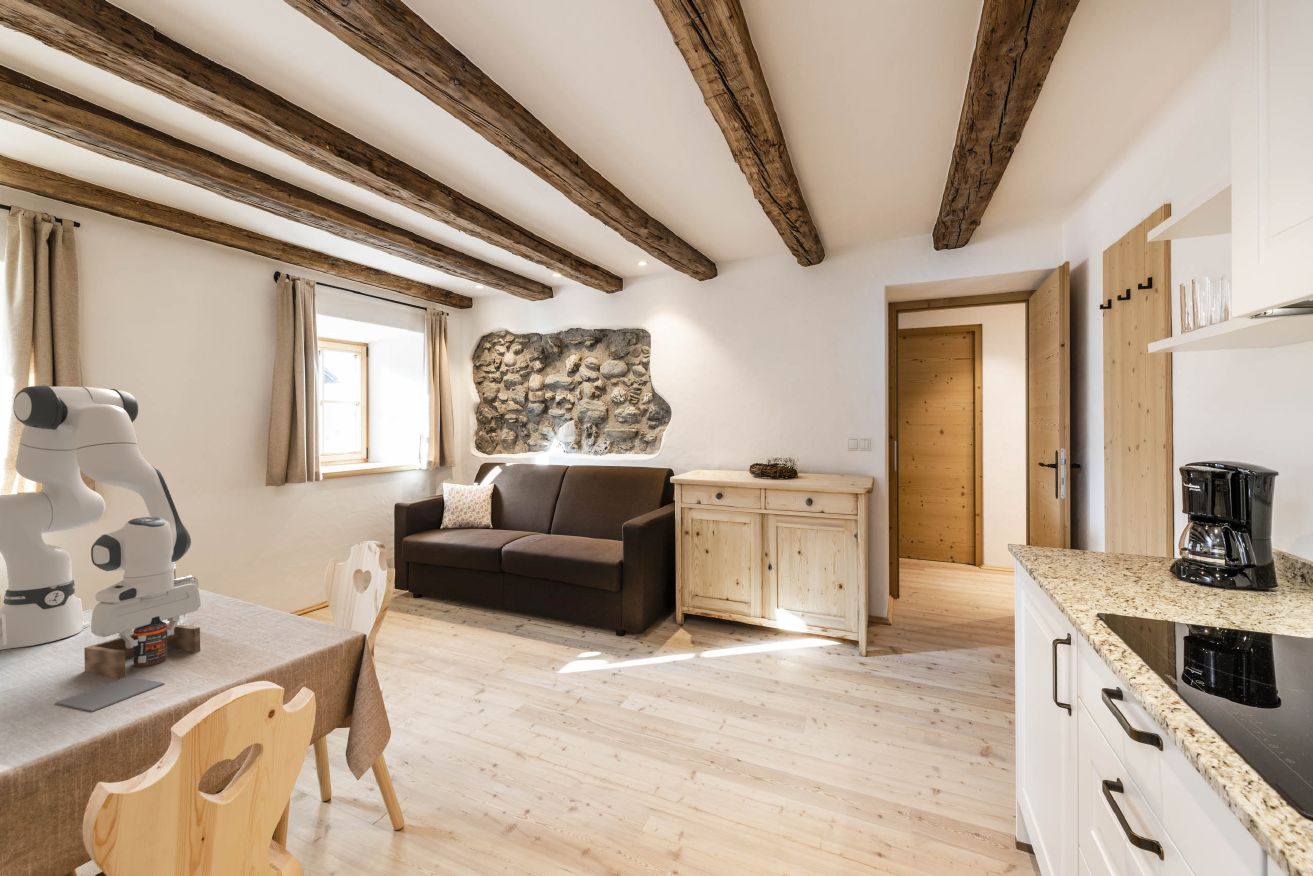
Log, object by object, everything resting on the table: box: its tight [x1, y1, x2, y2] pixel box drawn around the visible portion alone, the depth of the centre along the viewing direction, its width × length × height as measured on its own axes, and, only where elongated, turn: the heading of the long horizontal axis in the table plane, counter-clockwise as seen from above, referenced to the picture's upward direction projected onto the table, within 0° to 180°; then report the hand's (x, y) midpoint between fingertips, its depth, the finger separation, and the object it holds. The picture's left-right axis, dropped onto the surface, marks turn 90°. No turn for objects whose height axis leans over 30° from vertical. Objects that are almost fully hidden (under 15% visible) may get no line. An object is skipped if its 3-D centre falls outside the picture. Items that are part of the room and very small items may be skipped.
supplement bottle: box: [132, 616, 168, 668], centre depth 127 cm, size 6×6×11 cm
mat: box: [54, 676, 165, 713], centre depth 112 cm, size 12×12×1 cm
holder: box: [83, 622, 201, 680], centre depth 128 cm, size 12×16×6 cm
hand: (150, 641), depth 127 cm, fingers closed on supplement bottle, 6 cm apart
